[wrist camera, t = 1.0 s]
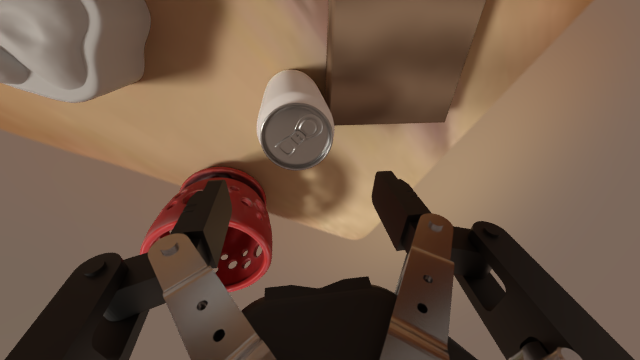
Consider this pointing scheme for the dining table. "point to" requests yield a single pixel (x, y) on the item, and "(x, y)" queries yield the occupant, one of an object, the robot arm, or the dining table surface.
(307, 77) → the can
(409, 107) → the walnut stand
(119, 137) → the dining table surface
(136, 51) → the lumpy-topped squat cylinder
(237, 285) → the plant pot
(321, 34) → the dining table surface
